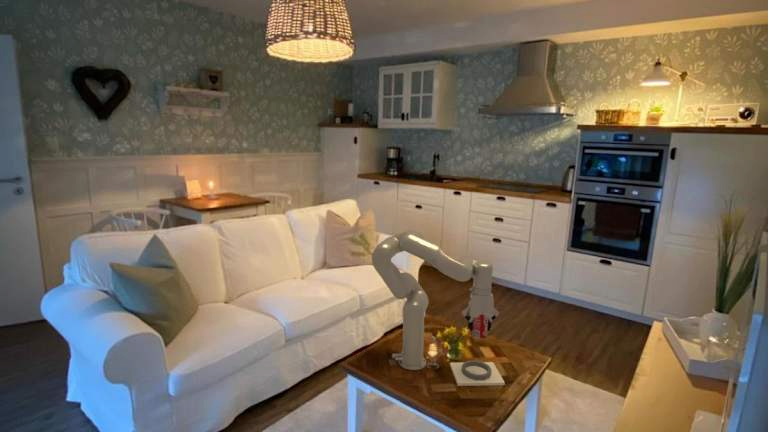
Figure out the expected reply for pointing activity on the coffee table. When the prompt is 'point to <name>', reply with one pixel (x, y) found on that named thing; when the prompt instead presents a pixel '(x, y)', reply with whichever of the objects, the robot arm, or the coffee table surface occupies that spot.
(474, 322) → the soda can
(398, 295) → the robot arm
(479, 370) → the collar board
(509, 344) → the coffee table surface
